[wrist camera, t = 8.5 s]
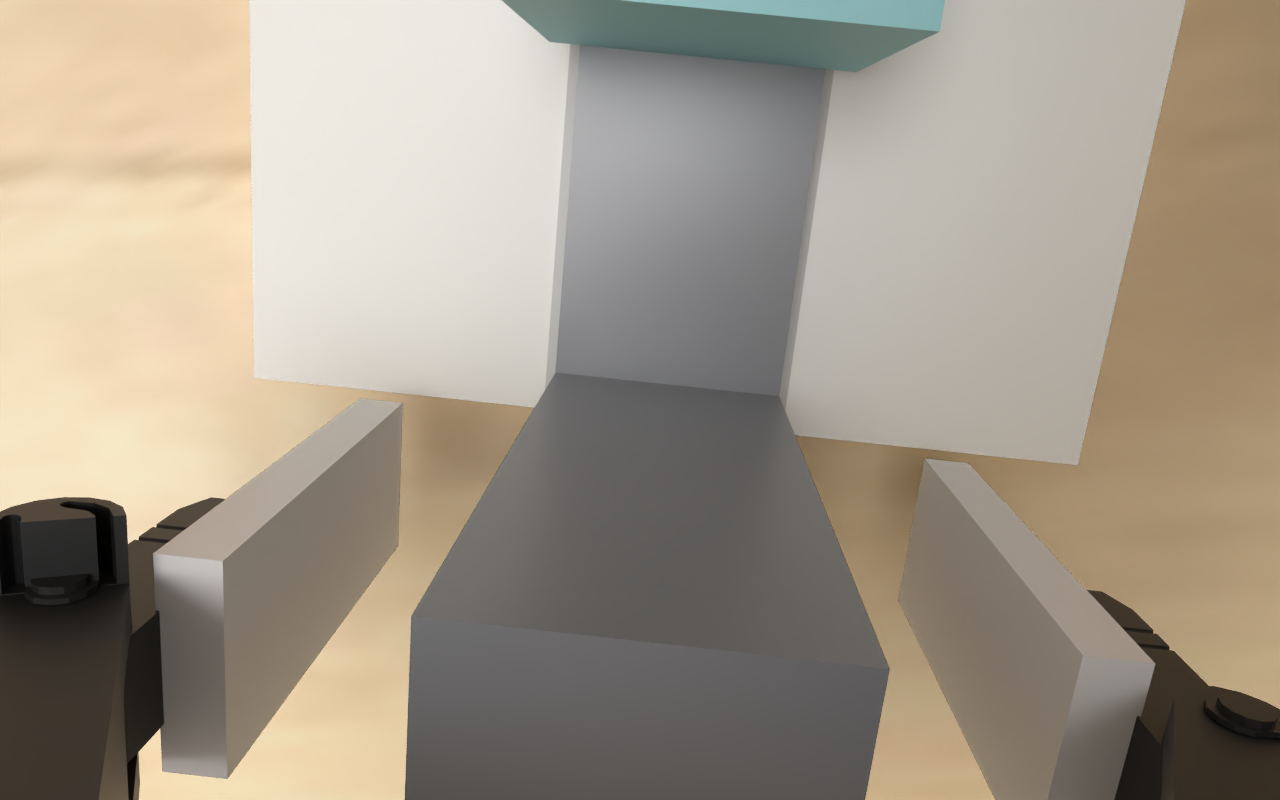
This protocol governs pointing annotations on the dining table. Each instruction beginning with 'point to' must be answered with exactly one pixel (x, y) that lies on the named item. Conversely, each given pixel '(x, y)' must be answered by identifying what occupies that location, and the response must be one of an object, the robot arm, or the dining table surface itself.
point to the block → (742, 28)
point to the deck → (832, 232)
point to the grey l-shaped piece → (658, 488)
